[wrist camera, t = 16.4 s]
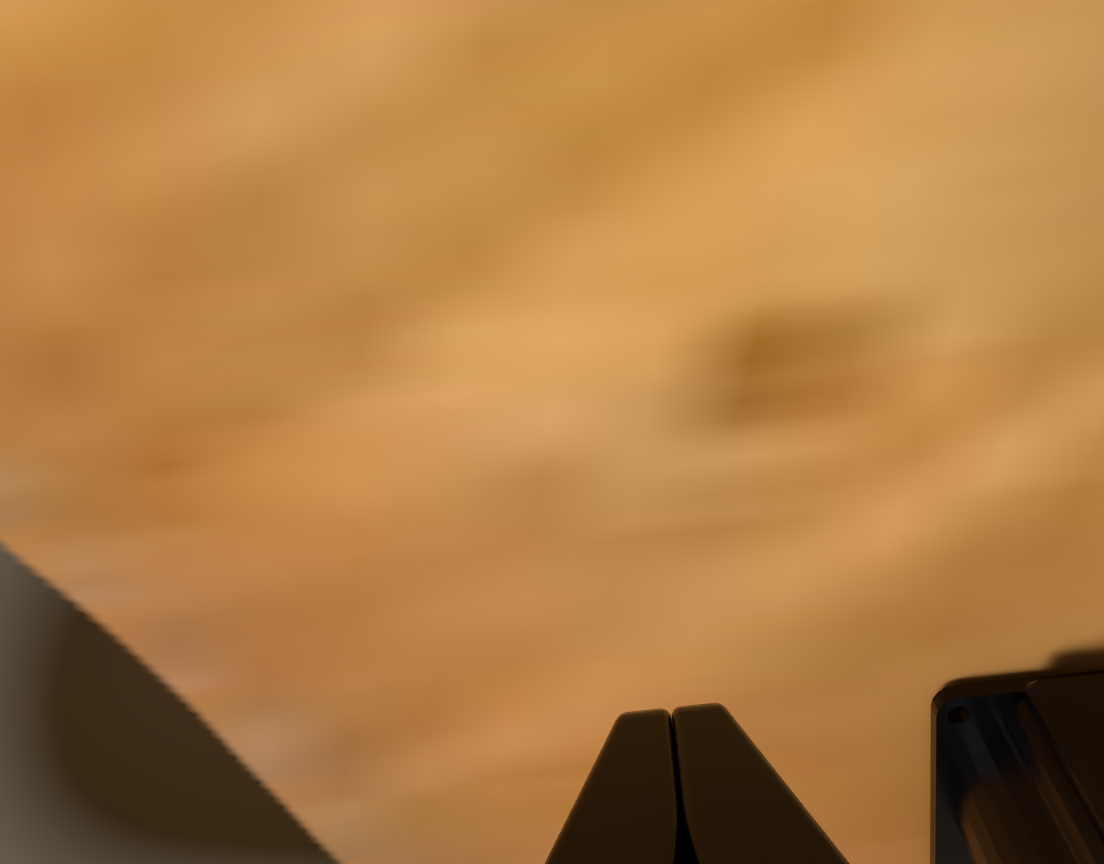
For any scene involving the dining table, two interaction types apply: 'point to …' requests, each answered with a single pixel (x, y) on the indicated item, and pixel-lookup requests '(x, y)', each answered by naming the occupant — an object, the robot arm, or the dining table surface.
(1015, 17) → the dining table surface
